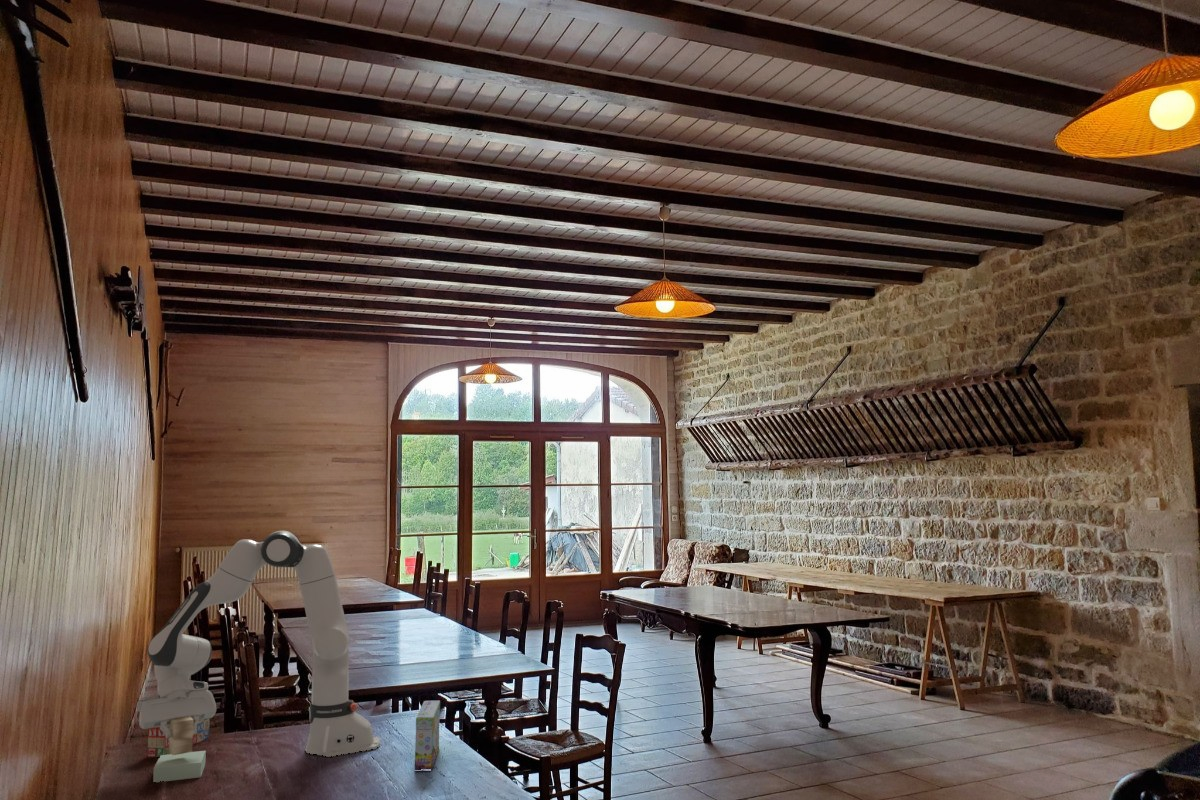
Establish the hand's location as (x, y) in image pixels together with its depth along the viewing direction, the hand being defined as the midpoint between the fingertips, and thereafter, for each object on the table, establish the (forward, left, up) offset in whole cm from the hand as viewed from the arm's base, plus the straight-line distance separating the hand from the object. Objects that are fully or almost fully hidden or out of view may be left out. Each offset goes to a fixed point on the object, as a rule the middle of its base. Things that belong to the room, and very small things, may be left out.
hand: (181, 734), depth 240 cm
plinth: (0, -1, -11) cm, 11 cm away
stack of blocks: (+4, -29, -11) cm, 32 cm away
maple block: (0, -1, -5) cm, 5 cm away
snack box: (-68, +15, -11) cm, 71 cm away
